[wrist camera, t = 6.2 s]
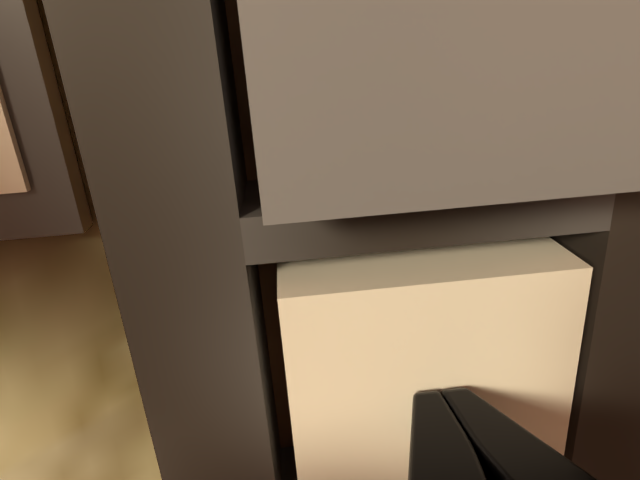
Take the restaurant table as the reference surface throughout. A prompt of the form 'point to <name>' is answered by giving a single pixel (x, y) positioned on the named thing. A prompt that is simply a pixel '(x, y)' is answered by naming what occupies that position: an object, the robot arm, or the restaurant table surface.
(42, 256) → the restaurant table surface
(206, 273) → the keypad
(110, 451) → the restaurant table surface
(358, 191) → the key gray
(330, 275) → the key ivory
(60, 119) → the tile
